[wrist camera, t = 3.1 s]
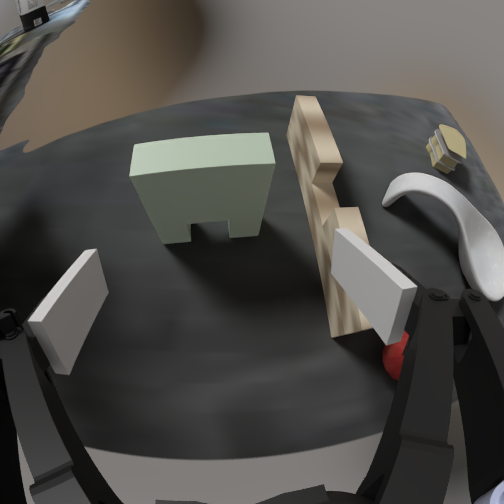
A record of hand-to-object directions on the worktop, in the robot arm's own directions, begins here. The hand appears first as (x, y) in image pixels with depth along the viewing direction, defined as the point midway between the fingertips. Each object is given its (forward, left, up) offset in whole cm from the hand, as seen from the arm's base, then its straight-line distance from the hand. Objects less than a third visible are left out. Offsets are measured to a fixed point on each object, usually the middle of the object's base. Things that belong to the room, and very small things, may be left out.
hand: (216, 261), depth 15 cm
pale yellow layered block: (+28, +31, -14) cm, 44 cm away
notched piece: (-3, +8, -13) cm, 16 cm away
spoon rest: (+28, +14, -13) cm, 34 cm away
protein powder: (-115, +87, -13) cm, 145 cm away
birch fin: (+8, +12, -13) cm, 19 cm away
